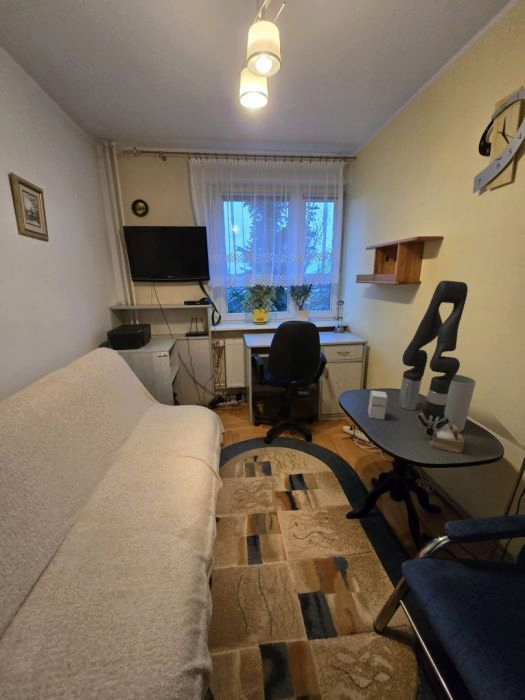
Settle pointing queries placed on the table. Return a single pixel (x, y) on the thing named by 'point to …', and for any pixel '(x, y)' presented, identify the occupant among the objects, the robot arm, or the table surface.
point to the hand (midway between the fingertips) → (429, 435)
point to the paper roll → (445, 432)
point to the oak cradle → (448, 441)
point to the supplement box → (377, 404)
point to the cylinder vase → (459, 401)
